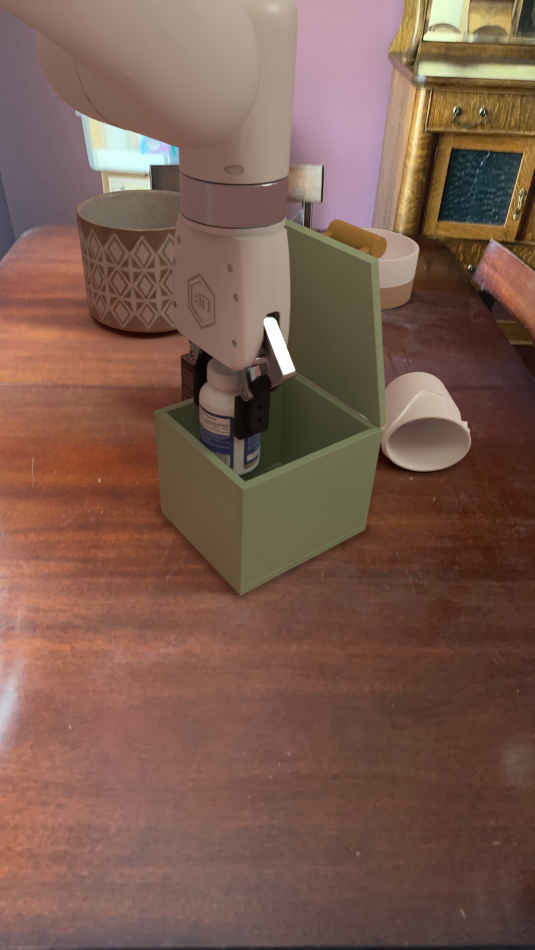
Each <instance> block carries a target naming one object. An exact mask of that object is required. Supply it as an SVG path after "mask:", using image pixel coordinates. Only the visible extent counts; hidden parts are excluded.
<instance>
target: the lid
mask: <svg viewBox="0 0 535 950" xmlns="http://www.w3.org/2000/svg"><path fill="white" fill-rule="evenodd" d="M359 227H360V226H357V225H354V224H351V223H349V222H346V221H344V220H342V219H339V218H336V219H332V220H331V222H330V223H329V224H328V227H327V229H326V231H325V233H324V232H323V233H321V232H318V231H316V230H313V229H311V228H309V227H307V226H305V225H302V224H300V223H298V222H295V221H293V220H291V219H288V218H286V223H285V226H284V228H285V229H286V230H287V238H288V248H289V262H290V323H289V335H288V343H287V349H288V352H289V355H290V357H291V360H292V362H293V365H294V368H295V370H296V373H297V374H299V375H300V376H302V377H303V378H305V379H306V380H308V381H309V382H311V383H312V384H314V385H315V386H317V387H318V388H320V389H322V390H323V391H325V392H326V393H328V394H329V395H331V396H332V397H334V398H335V399H337V400H338V401H340V402H341V403H343V404H344V405H346V406H348V407H349V408H351V409H352V410H354V411H355V412H357V413H360V414H361V415H363V416H364V417H366V418H367V419H368V420H369V421H370V422H372V423H374V424H375V425H376V426H378V427H382V426H383V425H384V424H386V423H387V418H386V399H385V389H386V382H385V381H386V379H385V363H384V342H383V325H382V324H383V323H382V310H381V302H380V283H379V264H378V259H379V258H381V257H382V256H383V254H384V253H385V251H386V248H387V241H386V239H385V238H384V237H381V236H379V235H376V234H374V233H371V232H369V231H367V230H364V229H362V228H359Z"/></svg>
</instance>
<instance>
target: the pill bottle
mask: <svg viewBox="0 0 535 950" xmlns="http://www.w3.org/2000/svg"><path fill="white" fill-rule="evenodd" d="M250 374H251V380H252V381H253V380H254V379H255V377H256V366H254V367H251V368H250ZM207 381H208V382H206V383H205V384H204V385H203V386H202V388H201V390H200V393H199V416H200V442H201V443H202V444H203V445H204V446H205V447H206V448H208V449H209V450H210V451H211V452H212V453H213V454H214V455H216V456H217V457H218V458H219V459H220V460H221V461H222V462H224V463H225V464H226V465H227V466H228V467H229V468H230V469H232V470H233V471H234V472H235V473H236V474H237V475H238V476H239V475H243V474H246V473H248V472H250V471H252V470H253V469H254V468H255V467H256V466H257V464H258V462H259V457H260V438H261V433H258V434H255V435H253V436H250V437H247V438H245V439H242V440H238V439H237V438H236V437H235V436H234V401H235V396H238V395H240V391H239V385H238V379H237V373H236V370H233V369H230V368H229V367H227V366H225V365H224V364H222V363H221V362H219V361H218V360H217V359H215V358H213V359H211V360H210V361H209V362H208V365H207Z"/></svg>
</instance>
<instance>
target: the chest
mask: <svg viewBox="0 0 535 950" xmlns="http://www.w3.org/2000/svg"><path fill="white" fill-rule="evenodd" d="M259 376H261V375H260V374H259V375H257V376H255V379H256V378H257V377H259ZM153 414H154V424H155V425H154V426H155V441H156V443H155V444H156V457H157V470H158V471H157V472H158V484H159V500H160V513H162V514H163V515H164V516H165V518H167V520H168V521H169V522H171V524H172V525H173V526H174V527H175V528H176V529H177V530H178V531H179V532H180V534H182V536H183V537H184V538H185V539H186V540H187V541H188V542H189V543H190V544H191V545H192V547H194V548H195V549H196V550H197V552H198V553H200V555H201V556H202V557H203V558H204V559H205V560H206V561H207V562H208V563H209V564H210V565H211V567H212V568H214V570H215V571H216V572H217V573H218V574H219V575H220V576H221V577H222V578H223V579H224V580H225V581H226V582H227V584H228V585H229V586H230V587H231V588H232V589H233V590H234V591H235V592H236V593H237V594H238V595H239V596H242V595H245V594H246V593H248V592H250V591H252V590H254V589H256V588H258V587H260V586H262V585H264V584H265V583H267V582H269V581H272V580H273V579H275V578H277V577H279V576H281V575H282V574H284V573H286V572H288V571H290V570H292V569H294V568H296V567H298V566H299V565H302V564H304V563H305V562H307V561H309V560H311V559H313V558H315V557H316V556H318V555H320V554H322V553H325V552H326V551H328V550H330V549H332V548H334V547H336V546H337V545H339V544H342V543H343V542H345V541H347V540H349V539H351V538H353V537H355V536H357V535H358V534H360V533H363V532H364V531H365V530H366V528H367V527H366V526H367V521H368V516H369V510H370V504H371V498H372V492H373V487H374V482H375V477H376V471H377V465H378V459H379V454H380V453H379V452H380V448H381V443H380V442H381V437H382V431H383V429H381V428H380V426H378V425H377V424H375V423H373V422H372V421H370V420H369V419H368V420H367V419H366V418H364V417H363V416H361V415H360V414H358V412H357V411H355V410H354V409H352V408H351V407H349V406H347V405H346V404H344V403H343V402H341V401H340V400H338V399H337V398H335V397H334V396H332V395H331V394H329V393H328V392H326V391H324V390H323V389H321V388H320V387H318V386H317V385H315V384H314V383H312V382H311V381H309V380H308V379H306V378H305V377H303V376H301V375H300V374H298V373H297V372H296V377H295V378H294V379H292V380H290V381H288V382H286V383H284V384H282V385H281V386H280V387H278V388H277V389H276V390H275V392H272V393H270V408H269V426H268V428H267V430H265V431H263V432H261V438H260V457H259V462H258V464H257V466H256V467H255V468H254V469H253V470H252V471H250V472H248V473H246V474H243V475H239V476H238V475H237V474H236V473H235V472H234V471H233V470H232V469H230V468H229V467H228V466H227V465H226V464H225V463H224V462H222V461H221V460H220V459H219V458H218V457H217V456H216V455H214V454H213V453H212V452H211V451H210V450H209V449H208V448H206V447H205V446H204V445H203V444H202V443H201V442H200V416H199V407H198V406H197V405H196V404H194V401H193V398H190V399H187V400H184V401H182V400H181V401H179V402H176V403H173V404H170V405H167V406H164V407H161V408H157V409H154V410H153Z"/></svg>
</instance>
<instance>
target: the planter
mask: <svg viewBox="0 0 535 950" xmlns="http://www.w3.org/2000/svg"><path fill="white" fill-rule="evenodd" d="M179 209H180V191H179V192H178V191H172V190H165V189H164V190H163V189H125V190H124V189H123V190H116V191H109V192H104V193H100V194H96V195H93V196H90V197H88V198H86V199H84V200H82V201H81V202H79V204H77V206H76V208H75V212H76V213H75V214H76V222H77V229H78V236H79V237H78V238H79V246H80V253H81V261H82V269H83V276H84V278H83V279H84V285H85V293H86V301H87V308H88V311H89V314H90V315H91V316H92V317H93V318H94V319H95V320H96V321H97V322H99V323H101V324H102V325H104V326H107V327H109V328H113V329H117V330H120V331H125V332H126V331H127V332H132V333H165V332H171V331H172V332H173V331H178V330H177V328H176V327H175V325H174V322H173V305H172V282H173V252H174V239H175V231H176V223H177V218H178V213H179Z"/></svg>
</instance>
